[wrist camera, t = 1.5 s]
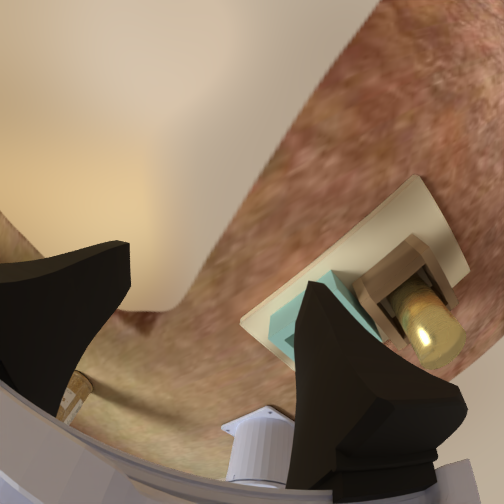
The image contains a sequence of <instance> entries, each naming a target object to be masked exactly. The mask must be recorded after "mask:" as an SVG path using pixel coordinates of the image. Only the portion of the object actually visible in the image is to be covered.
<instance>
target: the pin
mask: <svg viewBox="0 0 504 504" xmlns="http://www.w3.org/2000/svg"><path fill="white" fill-rule="evenodd" d="M386 299H387V301H388V302H389V304H390V306H391V308H392V309H393V311H394V313H395V315H396V317H397V319H398V320H399V322H400V324H401V326H402V328H403V330H404V332H405V333H406V335H407V337H408V339H409V341H410V343H411V345H412V347H413V349H414V351H415V353H416V355H417V357H418V359H419V361H420V363H421V365H422V366H423V367H424V368H426V369H429V370H433V369H438V368H441V367H443V366H445V365H447V364H449V363H450V362H451V361H452V360H454V359H455V358H456V357H457V356H458V354H459V353H460V352H461V350H462V349H463V347H464V344H465V341H466V333H465V331H464V329H463V328H462V326H461V325H460V324H459V322H458V321H457V320H456V319H455V317H454V316H453V315H452V314H451V312H450V311H449V310H448V309H447V307H446V306H445V305H444V304H443V302H442V301H441V300H440V299H439V298H438V296H437V295H436V294H435V293H434V292H433V290H432V289H431V288H430V287H429V286H428V285H427V283H426V282H425V281H424V280H423V279H422V278H421V277H420V275H419V274H418V273H417V272H415V273H414V274H413V275H412V276H410V277H409V278H408V279H407V280H406V281H405V282H403V283H402V284H401V285H400V286H398V287H397V288H396V289H395V290H394V291H392V292H391V293H390V294H389V295H387V296H386Z"/></svg>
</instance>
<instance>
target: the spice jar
mask: <svg viewBox="0 0 504 504" xmlns="http://www.w3.org/2000/svg"><path fill="white" fill-rule="evenodd" d="M92 390H93V388H92V385H91V383H90V382H89V381H88V379H87V378H86V377H85V376H83V375H82V374H81V373H79V372H77V371H74V372H73V374H72V377H71V379H70V381H69V383H68V386H67V388H66V390H65V393H64V395H63V398H62V401H61V404H60V407H59V410H58V413H57V416H56V419H58V420H60V421H61V422H63V423H65V424H67V425H70V423H71V422H72V420H73V419H74V417H75V416H76V414H77V413H78V411H79V410H80V408H81V407H82V405H83V403H84V401H85V400H86V398H87V397H88V395H89V394H90V393H92Z"/></svg>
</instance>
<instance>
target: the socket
mask: <svg viewBox="0 0 504 504" xmlns="http://www.w3.org/2000/svg"><path fill="white" fill-rule="evenodd" d="M316 282H320V283H324V284H325V285H326V286H327V287H328V288H329V289H330V290H331V291H332V292H333V294H334V295H335V296H336V297H337V298H338V300H339V301H340V302H341V303H342V304H343V305H344V306H345V308H346V309H347V310H348V311H349V312H350V313H351V314H352V315H353V316H354V317H355V319H356V320H357V321H358V322H359V323H360V324H361V325H362V326H363V327H364V328H365V329H366V330H368V331H369V332H370V333H371V334H372V335H373V336H374V337H376V338H377V339H378V340H379V341H380V342H382V339H381V336H380V334H379V331H378V329H377V327H376V324H375V322H374V320H373V318H372V317H371V316H370V315H369V314H368V312H367V311H366V310H365V309H364V308H363V307H362V305H361V304H360V303H359V302H358V300H357V299H356V298H355V297H354V296H353V295H352V293H351V292H350V291H349V290H348V289H347V288H346V286H345V285H344V284H343V283H342V282H341V281H340V280H339V278H338V277H337V276H336V275H335V274H334V273H333V272H332V270H330V271H329V272H327V273H326V274H325V275H323V276H322V277H321V278H320V279H318V280H317V281H316ZM304 293H305V290H304V291H303V292H302V293H300V294H299V295H298V296H296V297H295V298H294V299H292V300H291V301H290V302H288V303H287V304H286V305H284V306H283V307H282V308H280V309H279V310H278V311H276V312H275V313H274V314H272V315H271V316H270V324H269V333H268V340H269V341H271V342H272V343H273V344H274V345H275V346H276V347H278V348H279V349H280V350H281V351H282V352H283V353H285V354H286V355H287V356H288V357H289V358H290V359H292V360H293V361H294V362H295V359H294V331H295V322H296V319H297V316H298V313H299V309H300V306H301V303H302V300H303V297H304Z"/></svg>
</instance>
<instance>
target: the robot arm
mask: <svg viewBox="0 0 504 504" xmlns="http://www.w3.org/2000/svg"><path fill="white" fill-rule="evenodd" d="M130 287H131V276H130V244H129V243H127V242H123V241H118V240H116V241H109V242H105V243H100V244H97V245H93V246H90V247H86V248H83V249H79V250H76V251H72V252H68V253H65V254H61V255H57V256H53V257H49V258H44V259H39V260H33V261H26V262H17V263H5V264H0V504H481V502H480V497H479V493H478V489H477V485H476V481H475V478H474V474H473V471H472V467H471V464H470V461H469V459H464V460H461V461H458V462H454V463H450V464H447V465H444V466H441V467H439V468H437V469H434V465H433V462H434V461H435V460H437V459H438V454H437V450H436V448H437V447H438V446H439V445H441V444H442V443H443V442H444V441H445V440H446V439H447V438H448V437H449V436H451V435H452V434H453V433H454V432H455V431H456V430H457V428H458V427H459V426H460V425H461V424H462V422H463V421H464V419H465V417H466V415H467V410H468V408H467V406H466V403H465V401H464V399H463V396H462V394H461V392H460V389H459V387H458V386H456V385H454V384H452V383H449V382H447V381H445V380H442V379H440V378H438V377H436V376H433V375H431V374H429V373H427V372H426V371H424V370H422V369H420V368H418V367H416V366H415V365H413V364H411V363H410V362H408V361H406V360H405V359H403V358H402V357H401V356H399V355H398V354H396V353H395V352H393V351H392V350H390V349H389V348H388V347H386V346H385V345H384V344H383V343H381V342H380V341H379V340H378V339H377V338H376V337H374V336H373V335H372V334H371V333H370V332H369V331H368V330H366V329H365V328H364V327H363V326H362V325H361V324H360V323H359V322H358V321H357V320H356V319H355V317H354V316H353V315H352V314H351V313H350V312H349V311H348V310H347V309H346V308H345V306H344V305H343V304H342V303H341V302H340V301H339V300H338V298H337V297H336V296H335V295H334V294H333V292H332V291H331V290H330V289H329V288H328V287H327V286H326V285H325V284H324V283H320V282H315V281H309V280H308V284H307V287H306V290H305V293H304V297H303V300H302V303H301V306H300V309H299V313H298V316H297V319H296V322H295V331H294V359H295V375H296V414H295V422H294V421H293V420H291V419H289V418H288V417H286V416H285V415H283V414H282V413H280V412H279V411H277V410H275V409H274V408H272V407H271V406H265V407H262V408H260V409H258V410H256V411H254V412H252V413H249V414H247V415H245V416H243V417H240V418H238V419H236V420H233V421H231V422H229V423H226V424H224V425H222V427H221V429H222V430H224V431H226V432H227V433H229V434H231V435H232V436H234V442H233V447H232V452H231V457H230V462H229V467H228V472H227V476H226V481H219V480H215V479H210V478H205V477H201V476H197V475H193V474H189V473H185V472H181V471H178V470H174V469H171V468H168V467H164V466H161V465H158V464H155V463H152V462H149V461H146V460H144V459H141V458H138V457H135V456H133V455H130V454H128V453H125V452H123V451H120V450H118V449H116V448H113V447H111V446H109V445H106V444H104V443H102V442H100V441H98V440H96V439H94V438H91V437H89V436H87V435H85V434H84V433H82V432H80V431H78V430H76V429H74V428H72V427H70V426H69V425H67V424H65V423H63V422H61V421H60V420H58V419H56V416H57V413H58V410H59V407H60V404H61V401H62V398H63V395H64V393H65V390H66V388H67V386H68V383H69V381H70V379H71V377H72V374H73V372H74V370H75V368H76V366H77V364H78V362H79V361H80V359H81V357H82V355H83V353H84V352H85V350H86V348H87V347H88V345H89V344H90V342H91V341H92V339H93V338H94V337H95V335H96V334H97V333H98V332H99V330H100V329H101V328H102V326H103V325H104V324H105V323H106V321H107V320H108V319H109V318H110V317H111V315H112V314H113V313H114V311H115V310H116V309H117V308H118V306H119V305H120V304H121V302H122V301H123V299H124V297H125V296H126V294H127V292H128V290H129V289H130Z"/></svg>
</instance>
